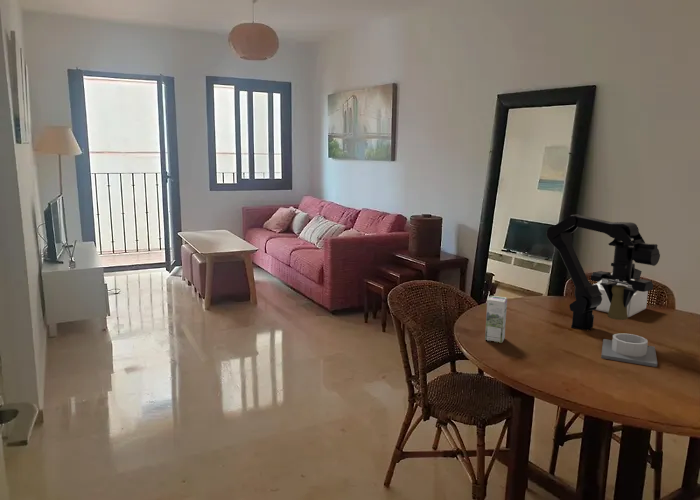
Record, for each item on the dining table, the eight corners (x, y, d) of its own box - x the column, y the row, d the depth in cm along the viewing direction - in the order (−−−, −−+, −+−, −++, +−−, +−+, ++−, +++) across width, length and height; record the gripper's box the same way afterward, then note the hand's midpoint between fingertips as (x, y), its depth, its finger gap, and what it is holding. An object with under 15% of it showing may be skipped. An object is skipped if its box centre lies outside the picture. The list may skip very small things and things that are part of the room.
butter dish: (602, 299, 230) (605, 263, 227) (647, 309, 217) (651, 270, 214) (583, 307, 219) (587, 269, 216) (630, 318, 206) (634, 277, 203)
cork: (629, 320, 179) (633, 288, 177) (610, 319, 180) (613, 287, 178) (624, 315, 185) (627, 284, 183) (605, 313, 186) (608, 283, 184)
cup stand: (601, 358, 165) (602, 342, 164) (603, 341, 179) (604, 327, 178) (656, 367, 159) (658, 351, 158) (654, 349, 173) (656, 334, 172)
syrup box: (504, 338, 182) (507, 296, 179) (502, 343, 177) (504, 301, 174) (487, 335, 184) (490, 294, 182) (484, 341, 179) (486, 299, 176)
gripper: (664, 262, 176) (659, 308, 179) (610, 253, 191) (606, 296, 194) (646, 266, 170) (641, 314, 173) (591, 256, 185) (587, 300, 188)
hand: (618, 305), depth 182 cm, fingers closed on cork, 4 cm apart
